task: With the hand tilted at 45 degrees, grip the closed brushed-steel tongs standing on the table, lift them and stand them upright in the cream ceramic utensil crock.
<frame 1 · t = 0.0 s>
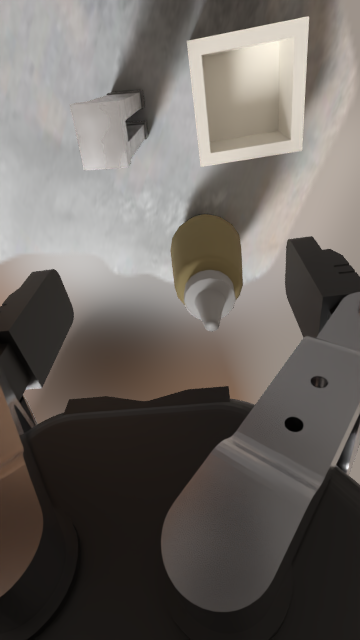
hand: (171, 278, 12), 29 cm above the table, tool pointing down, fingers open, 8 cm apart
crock: (239, 95, 33), on the table
squeeze bottle: (204, 236, 42), on the table
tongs: (130, 114, 34), on the table
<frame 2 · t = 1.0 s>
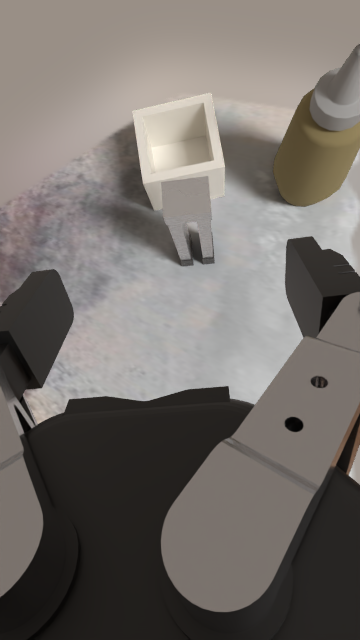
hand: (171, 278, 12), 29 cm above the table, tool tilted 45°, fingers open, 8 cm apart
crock: (183, 171, 44), on the table
squeeze bottle: (301, 185, 42), on the table
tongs: (197, 252, 42), on the table
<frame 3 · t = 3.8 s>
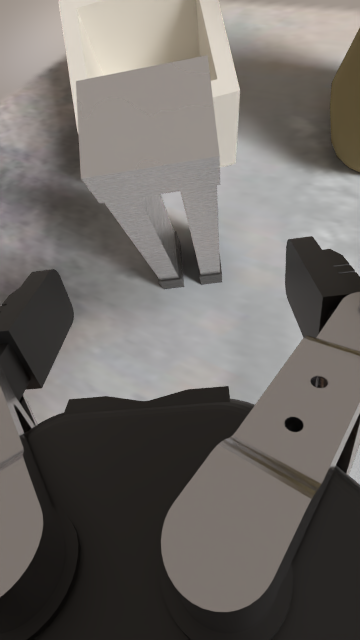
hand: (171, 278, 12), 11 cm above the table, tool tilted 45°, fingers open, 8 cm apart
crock: (163, 124, 25), on the table
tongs: (190, 263, 24), on the table
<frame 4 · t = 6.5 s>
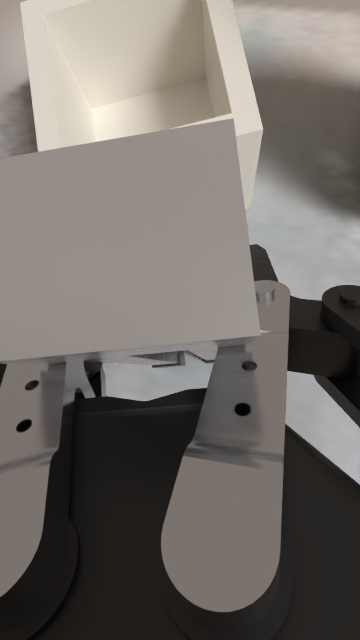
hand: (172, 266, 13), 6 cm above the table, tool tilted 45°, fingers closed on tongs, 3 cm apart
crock: (160, 156, 20), on the table
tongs: (193, 335, 19), on the table, touching gripper
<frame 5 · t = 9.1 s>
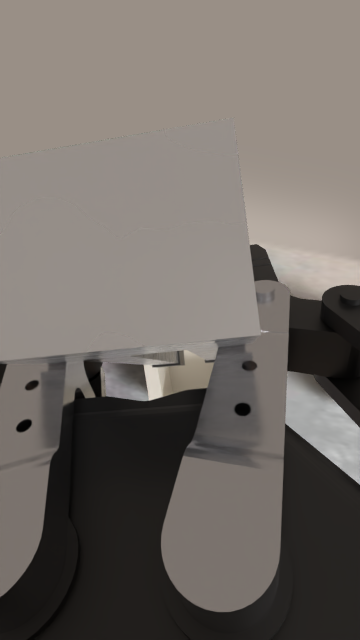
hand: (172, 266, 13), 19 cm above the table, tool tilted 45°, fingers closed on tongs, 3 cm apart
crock: (205, 347, 31), on the table
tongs: (193, 335, 19), point 13 cm above the table, touching gripper
when the fingers open (9 cm above the table, at t = 12.1 s): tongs drops 1 cm, resting on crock.
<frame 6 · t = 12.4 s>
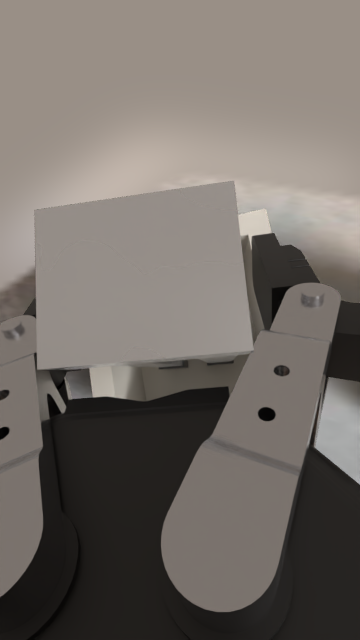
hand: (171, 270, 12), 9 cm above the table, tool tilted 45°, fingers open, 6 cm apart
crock: (196, 339, 21), on the table
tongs: (196, 339, 20), point 1 cm above the table, touching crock
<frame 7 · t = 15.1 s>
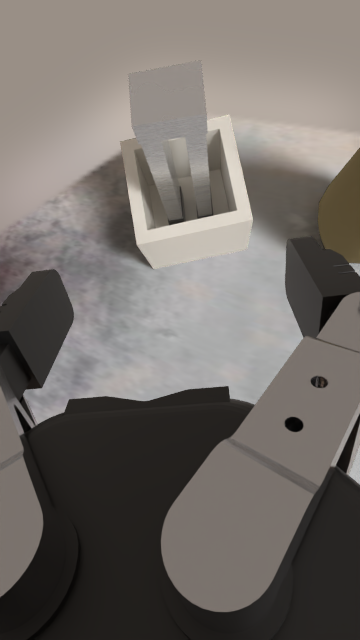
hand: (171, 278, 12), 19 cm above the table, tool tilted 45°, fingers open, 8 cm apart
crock: (191, 215, 33), on the table
squeeze bottle: (352, 233, 31), on the table
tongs: (191, 212, 32), point 1 cm above the table, touching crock
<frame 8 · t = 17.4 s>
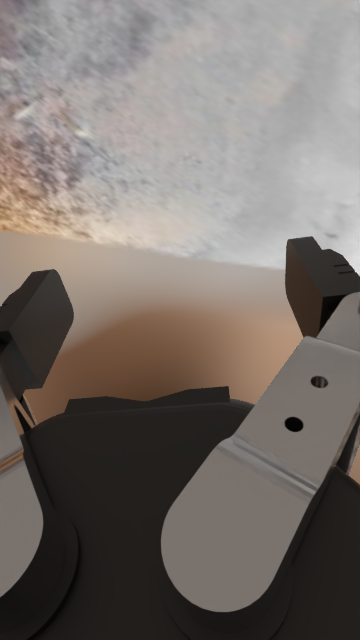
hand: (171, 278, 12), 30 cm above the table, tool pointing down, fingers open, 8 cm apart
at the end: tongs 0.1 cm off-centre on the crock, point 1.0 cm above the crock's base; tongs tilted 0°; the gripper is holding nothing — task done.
